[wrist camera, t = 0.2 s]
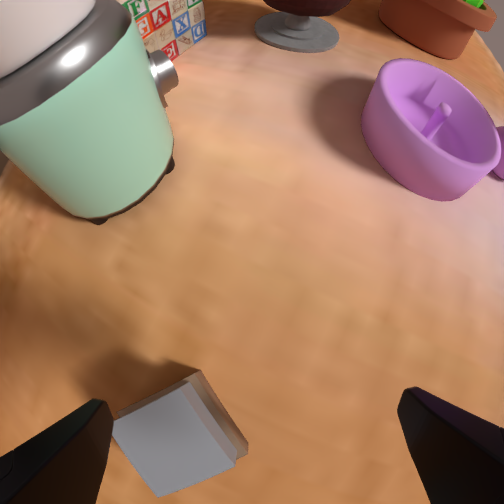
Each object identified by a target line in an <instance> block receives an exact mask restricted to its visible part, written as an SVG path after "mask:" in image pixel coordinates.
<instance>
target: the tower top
mask: <svg viewBox="0 0 504 504" xmlns="http://www.w3.org/2000/svg"><path fill="white" fill-rule="evenodd" d="M112 436H113V437H114V439H115V440H116V442H117V443H118V445H119V446H120V448H121V449H122V451H123V452H124V454H125V455H126V457H127V458H128V460H129V461H130V462H131V464H132V465H133V467H134V468H135V469H136V471H137V472H138V473H139V475H140V476H141V477H142V479H143V480H144V481H145V482H146V484H147V485H148V486H149V488H150V489H151V490H152V491H153V493H154V494H155V495H156V496H157V497H161V496H164V495H167V494H170V493H173V492H176V491H178V490H181V489H184V488H186V487H189V486H191V485H194V484H196V483H199V482H201V481H204V480H206V479H208V478H211V477H213V476H215V475H218V474H220V473H222V472H224V471H226V470H228V469H231V468H233V467H235V464H236V455H237V450H236V448H235V447H234V446H233V444H232V443H231V442H230V440H229V439H228V437H227V436H226V435H225V433H224V432H223V431H222V429H221V428H220V426H219V425H218V424H217V422H216V421H215V419H214V418H213V416H212V415H211V413H210V412H209V410H208V409H207V408H206V406H205V405H204V403H203V402H202V400H201V399H200V397H199V395H198V394H197V392H196V391H195V389H194V388H193V386H192V385H191V383H190V382H188V383H186V384H185V385H183V386H181V387H179V388H177V389H175V390H173V391H172V392H170V393H168V394H166V395H164V396H162V397H160V398H158V399H156V400H154V401H152V402H150V403H149V404H147V405H145V406H143V407H141V408H139V409H137V410H135V411H132V412H130V413H128V414H126V415H124V416H122V417H120V418H118V419H117V420H115V421H114V427H113V432H112Z"/></svg>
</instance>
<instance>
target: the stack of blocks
mask: <svg viewBox="0 0 504 504" xmlns="http://www.w3.org/2000/svg"><path fill="white" fill-rule="evenodd" d="M116 1H118V2H119V3H120V4H121V5H122V6H124V7H125V8H126V9H127V10H128V11H129V12H130V13H131V14H132V16H133V17H134V19H135V21H136V23H137V25H138V28H139V30H140V33H141V36H142V39H143V42H144V45H145V48H146V49H147V50H148V51H149V53H152V52H154V51H156V50H161V51H163V52H164V53H165V54H166V55H167V56H168V57H169V59H170V60H171V61H173V60H174V59H175V58H176V57H177V56H178V55H181V54H182V53H183V52H184V51H186V50H187V49H188V48H190V47H191V46H192V45H193V44H195V43H196V42H198V41H199V40H201V39H202V38H203V37H205V36H206V35H207V32H206V24H205V19H204V18H205V13H204V5H203V2H202V0H116Z"/></svg>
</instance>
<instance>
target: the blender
mask: <svg viewBox="0 0 504 504" xmlns="http://www.w3.org/2000/svg"><path fill="white" fill-rule="evenodd" d="M177 85H178V76H177V73H176V70H175V68H174V66H173V64H172V62H171V60H170V59H169V57H168V56H167V55H166V54H165V53H164V52H163V51H161V50H156V51H154V52H152V53H149V51H148V50H147V49H146V48H145V45H144V42H143V39H142V36H141V33H140V30H139V28H138V25H137V23H136V21H135V19H134V17H133V16H132V14H131V13H130V12H129V11H128V10H127V9H126V8H125V7H124V6H122V5H121V4H120V3H119V2H118V1H116V0H0V151H1V152H3V153H4V154H5V155H6V156H7V157H8V158H9V159H10V160H11V161H12V162H13V163H14V164H15V165H16V166H17V167H18V168H19V169H20V170H21V171H22V172H23V173H24V174H25V175H26V176H27V177H28V178H30V179H31V180H32V181H33V182H34V183H35V184H36V185H37V186H38V187H39V188H40V189H42V190H43V191H44V192H45V193H46V194H47V195H48V196H49V197H51V198H52V199H53V200H54V201H55V202H56V203H57V204H59V205H60V206H61V207H62V208H63V209H65V210H66V211H68V212H69V213H71V214H72V215H74V216H77V217H81V218H85V219H90V220H91V221H92V222H93V223H94V224H97V225H101V224H103V223H105V222H106V221H107V220H108V218H110V217H113V216H116V215H119V214H122V213H124V212H126V211H128V210H129V209H131V208H132V207H134V206H136V205H137V204H139V203H141V202H142V201H143V200H144V199H145V198H146V197H147V196H148V195H149V194H150V193H151V192H152V191H153V190H154V189H155V188H156V187H157V185H158V184H159V183H160V181H161V180H162V178H163V177H164V176H165V174H168V173H170V172H171V171H172V170H173V169H174V166H175V162H174V160H173V157H172V154H173V145H174V138H173V133H172V128H171V125H170V122H169V119H168V116H167V113H166V110H165V108H166V107H168V105H167V103H166V101H165V98H164V95H165V94H166V93H168V92H169V91H170V90H171V89H172V88H174V87H176V86H177Z"/></svg>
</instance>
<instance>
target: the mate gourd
mask: <svg viewBox="0 0 504 504" xmlns="http://www.w3.org/2000/svg"><path fill="white" fill-rule="evenodd" d="M263 1H264V2H265V3H266V4H267V5H269V6H270V7H272V8H274V9H276V10H279V11H282V12H275V13H271V14H267V15H265V16H262V17H261V18H259V19H258V20H257V21H256V23H255V33H256V35H257V36H258V37H259V38H260V39H261V40H262V41H264V42H265V43H267V44H269V45H272V46H274V47H277V48H280V49H284V50H288V51H294V52H303V53H317V52H324V51H327V50H330V49H332V48H334V47H335V46H336V45H337V43H338V40H339V34H338V32H337V30H336V29H335V28H334V27H333V26H332V25H331V24H330V23H328V22H326V21H325V20H322V19H320V18H318V17H320V16H328V15H331V14H334V13H335V12H337V11H338V10H340V9H342V8H343V7H345V6H346V5H348V4H349V2H350V0H263Z"/></svg>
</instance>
